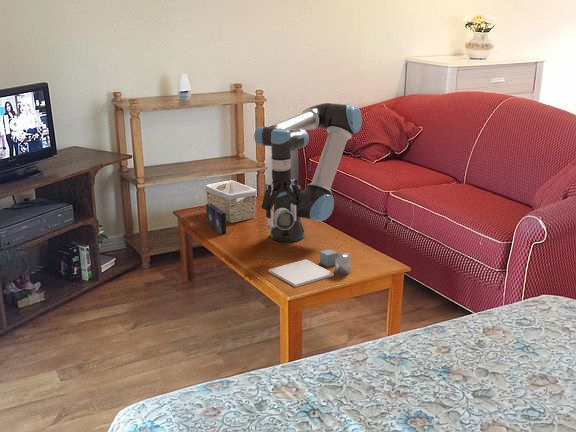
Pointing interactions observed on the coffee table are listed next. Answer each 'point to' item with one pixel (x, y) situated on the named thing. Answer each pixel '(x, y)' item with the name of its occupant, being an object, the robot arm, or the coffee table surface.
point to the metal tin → (342, 263)
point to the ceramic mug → (282, 219)
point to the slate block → (327, 257)
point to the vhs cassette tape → (216, 218)
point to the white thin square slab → (301, 272)
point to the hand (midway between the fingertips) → (282, 222)
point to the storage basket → (233, 200)
